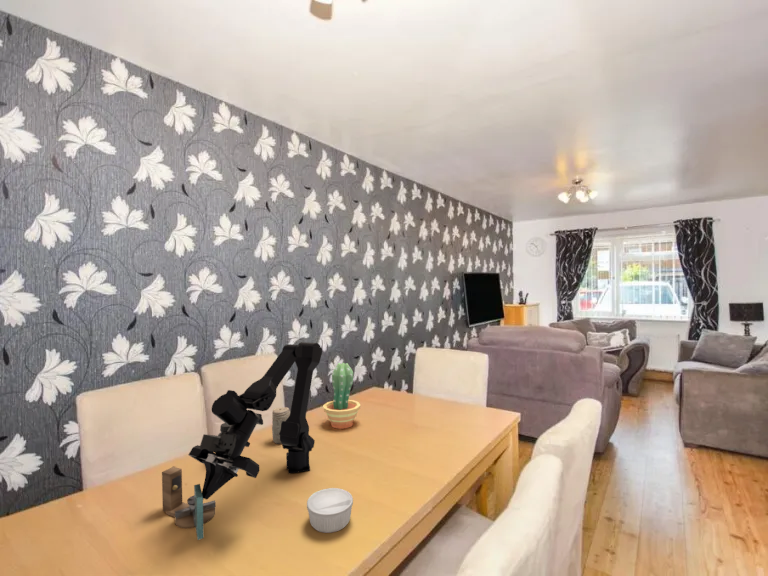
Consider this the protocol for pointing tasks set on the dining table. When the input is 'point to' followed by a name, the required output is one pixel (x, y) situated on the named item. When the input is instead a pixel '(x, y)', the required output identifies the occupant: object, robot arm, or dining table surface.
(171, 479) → the stand
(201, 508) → the turnstile
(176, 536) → the dining table surface
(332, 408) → the potted cactus
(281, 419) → the beige piece
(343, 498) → the ramekin
